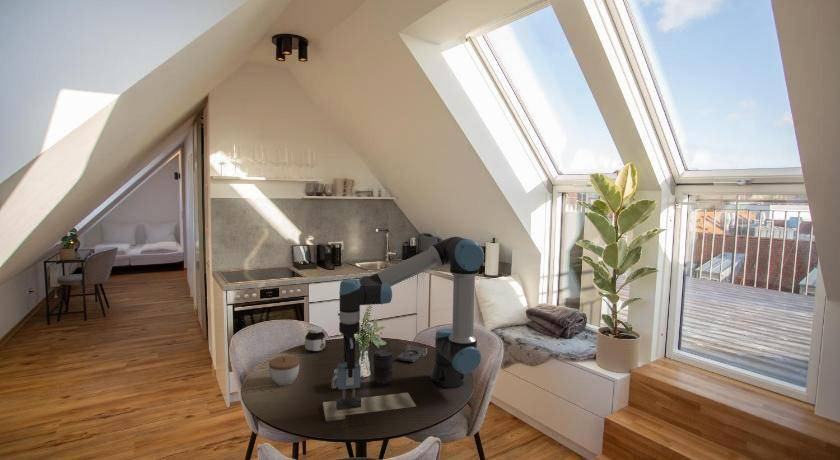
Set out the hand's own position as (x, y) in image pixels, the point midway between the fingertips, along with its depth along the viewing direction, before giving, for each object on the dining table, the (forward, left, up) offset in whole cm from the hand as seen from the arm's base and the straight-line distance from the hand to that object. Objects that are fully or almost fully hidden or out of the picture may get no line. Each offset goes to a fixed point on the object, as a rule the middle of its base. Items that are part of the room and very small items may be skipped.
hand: (348, 381), depth 170 cm
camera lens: (-17, -17, -12) cm, 27 cm away
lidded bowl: (+23, -32, -12) cm, 41 cm away
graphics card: (-38, -47, -12) cm, 62 cm away
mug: (+1, -21, -12) cm, 24 cm away
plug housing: (0, 0, -2) cm, 2 cm away
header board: (-8, 0, -11) cm, 14 cm away
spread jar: (+8, -69, -12) cm, 70 cm away
